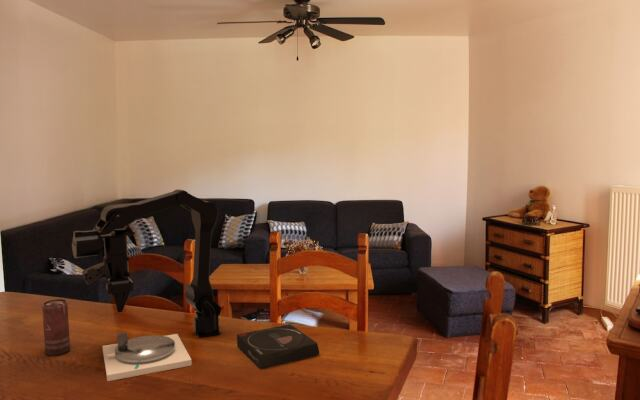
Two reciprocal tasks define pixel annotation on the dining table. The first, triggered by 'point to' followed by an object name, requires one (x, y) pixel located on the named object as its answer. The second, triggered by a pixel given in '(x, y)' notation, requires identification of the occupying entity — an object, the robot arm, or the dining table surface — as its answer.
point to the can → (56, 327)
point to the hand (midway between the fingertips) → (119, 309)
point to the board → (126, 370)
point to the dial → (142, 348)
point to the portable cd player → (276, 346)
